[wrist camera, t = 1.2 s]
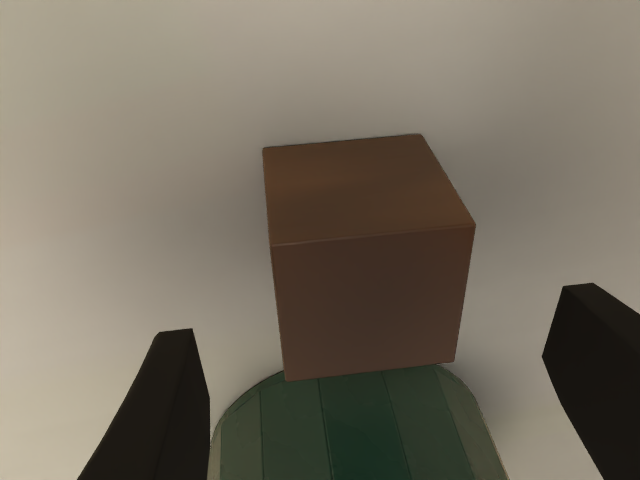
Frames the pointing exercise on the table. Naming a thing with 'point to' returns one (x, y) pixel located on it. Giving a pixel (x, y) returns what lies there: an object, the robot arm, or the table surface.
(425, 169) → the block
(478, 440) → the pot
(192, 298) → the table surface
